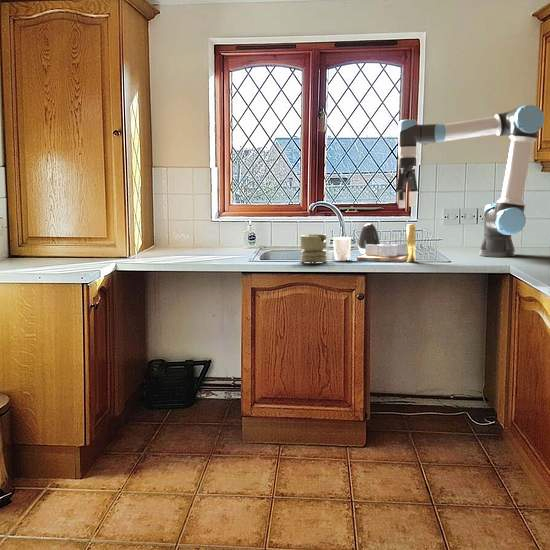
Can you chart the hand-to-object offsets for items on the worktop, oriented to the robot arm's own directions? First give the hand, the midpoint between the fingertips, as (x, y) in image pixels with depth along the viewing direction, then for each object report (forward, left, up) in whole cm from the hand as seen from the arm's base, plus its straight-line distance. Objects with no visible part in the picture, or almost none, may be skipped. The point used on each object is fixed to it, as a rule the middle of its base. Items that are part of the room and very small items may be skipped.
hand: (407, 207), depth 275 cm
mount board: (+11, -4, -23) cm, 26 cm away
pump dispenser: (+23, -17, -23) cm, 37 cm away
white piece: (+11, -4, -22) cm, 25 cm away
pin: (-3, +2, -23) cm, 23 cm away
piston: (+37, +15, -24) cm, 47 cm away
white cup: (+28, +4, -23) cm, 37 cm away
